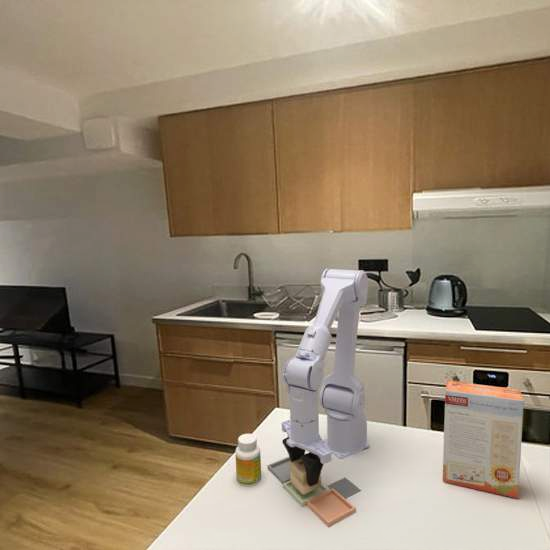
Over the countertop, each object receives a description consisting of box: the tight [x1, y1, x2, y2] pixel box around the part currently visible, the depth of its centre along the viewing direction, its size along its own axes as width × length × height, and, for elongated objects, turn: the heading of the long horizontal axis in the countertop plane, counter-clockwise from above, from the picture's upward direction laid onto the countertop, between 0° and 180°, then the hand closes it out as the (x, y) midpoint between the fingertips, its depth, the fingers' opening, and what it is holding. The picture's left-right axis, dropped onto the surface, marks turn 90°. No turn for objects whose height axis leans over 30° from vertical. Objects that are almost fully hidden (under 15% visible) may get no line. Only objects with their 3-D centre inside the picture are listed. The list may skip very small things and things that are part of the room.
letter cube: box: [290, 458, 322, 495], centre depth 82 cm, size 4×4×4 cm
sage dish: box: [282, 480, 330, 507], centre depth 83 cm, size 7×7×1 cm
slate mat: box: [326, 477, 362, 500], centre depth 83 cm, size 5×5×1 cm
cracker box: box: [442, 379, 525, 499], centre depth 83 cm, size 14×6×21 cm, turn 65°
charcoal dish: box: [266, 456, 291, 485], centre depth 89 cm, size 7×7×1 cm
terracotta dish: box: [305, 488, 357, 528], centre depth 78 cm, size 7×7×1 cm
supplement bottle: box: [235, 433, 262, 487], centre depth 87 cm, size 5×5×10 cm
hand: (305, 477), depth 83 cm, fingers closed on letter cube, 4 cm apart
